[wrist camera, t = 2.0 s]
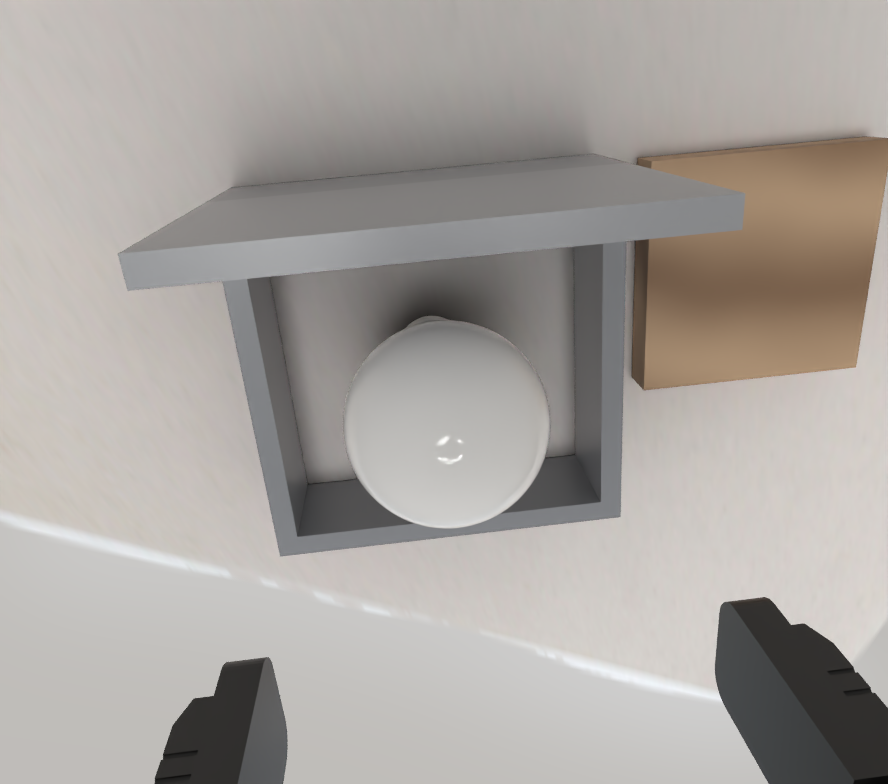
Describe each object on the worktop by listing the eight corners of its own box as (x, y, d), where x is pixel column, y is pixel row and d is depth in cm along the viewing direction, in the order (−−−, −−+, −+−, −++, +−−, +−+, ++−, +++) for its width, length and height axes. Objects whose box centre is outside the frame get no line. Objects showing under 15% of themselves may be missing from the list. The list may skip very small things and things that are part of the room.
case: (231, 187, 26) (118, 253, 15) (593, 153, 26) (745, 193, 15) (292, 502, 31) (243, 724, 20) (592, 468, 32) (704, 665, 21)
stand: (637, 157, 27) (651, 161, 25) (866, 136, 27) (892, 138, 26) (631, 376, 30) (643, 390, 29) (834, 355, 30) (855, 367, 29)
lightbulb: (377, 245, 27) (374, 332, 17) (528, 292, 28) (610, 400, 18) (335, 390, 29) (310, 545, 19) (477, 428, 30) (524, 592, 20)
